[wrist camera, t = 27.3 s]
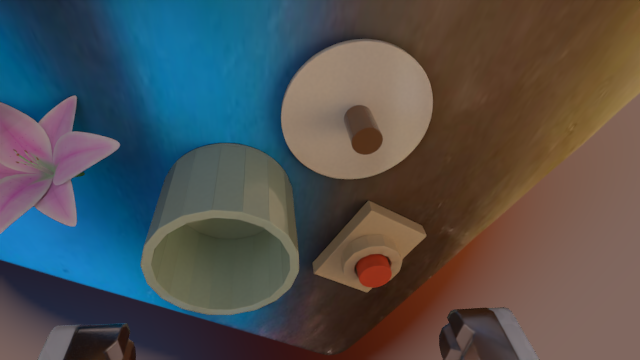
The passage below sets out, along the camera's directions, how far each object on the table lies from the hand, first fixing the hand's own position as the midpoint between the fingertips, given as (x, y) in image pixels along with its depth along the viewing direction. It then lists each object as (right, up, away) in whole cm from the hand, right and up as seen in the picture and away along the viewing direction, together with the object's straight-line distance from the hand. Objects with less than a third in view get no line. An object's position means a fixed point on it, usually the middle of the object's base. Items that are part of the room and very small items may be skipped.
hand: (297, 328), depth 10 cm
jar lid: (+4, +10, +26) cm, 28 cm away
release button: (+6, -6, +35) cm, 36 cm away
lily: (-22, +8, +25) cm, 34 cm away
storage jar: (-9, +2, +31) cm, 32 cm away
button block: (+6, -4, +37) cm, 38 cm away
